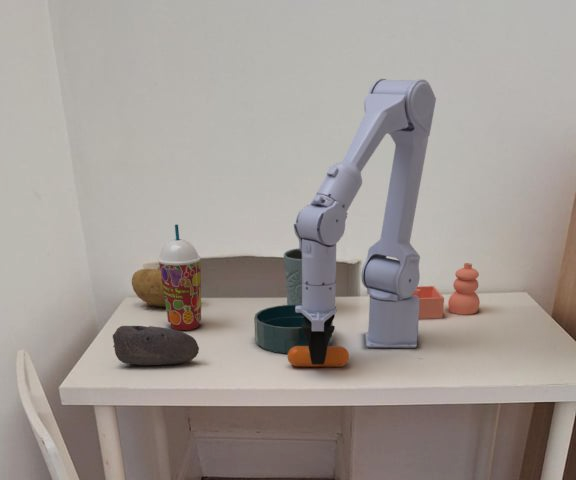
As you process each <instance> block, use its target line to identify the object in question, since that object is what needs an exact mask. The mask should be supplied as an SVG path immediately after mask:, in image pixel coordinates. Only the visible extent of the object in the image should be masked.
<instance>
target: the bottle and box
mask: <svg viewBox="0 0 576 480" xmlns="http://www.w3.org/2000/svg"><path fill="white" fill-rule="evenodd" d="M479 273H480V272H479V271H478V270H477V269H475V268H473V263H471V262H465V263H463V267H462V268H459V269H457V270H456V271H455V274H454V276H455V277H456V278H455V280H454V281H453V285H452V287H453V289H454V290H455V291H454V292H453V293H452V294H451V295H450V296H449V298H448V303H447V304H448V311H449V312H450V313H453V314H455V315H473V314H476V313H477V312H478V310H479V307H480V303H481V302H480V301H481V300H480V298H479V296H478V294H477V293H476V291H478V289H479V281H478V277H479V276H480V274H479ZM412 295H413V296H418V297H419V320H429V319H443V314H444V304H445V297H444V296H443V295H442V293H441V292H440V291H439V290H438V289H437V288H436V287H435V285H425V286H423V285H421V286H419V285H418V286H417V288H416V290H415V292H414V293H413V294H412Z"/></svg>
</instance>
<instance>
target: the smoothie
mask: <svg viewBox="0 0 576 480" xmlns="http://www.w3.org/2000/svg"><path fill="white" fill-rule="evenodd" d="M174 228H175V229H174V232H175V239H172V240H170V241H168V242H167V243H166V244H164V246H163V247H162V249H161V251H160V254H159V257H158V258H157V261H158V267H159V269H160V274H161V280H162V286H163V292H164V299H165V305H166V307H165V311H166V317H167V322H168V323H169V324H170V327H171V329H174V330H178V331H191V330H194V329H196V328H198V327H199V326H200V322H201V320H202V281H201V280H202V277H201V271H202V269H201V259H202V257H201V256H200V255H199V253H198V252H197V249H196V248H195V247H194V245H193V244H191V243H190V242H189V241H187V240H185V239H181V238H180V231H179V224H174Z"/></svg>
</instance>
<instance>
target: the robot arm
mask: <svg viewBox="0 0 576 480" xmlns="http://www.w3.org/2000/svg"><path fill="white" fill-rule="evenodd" d="M436 101H437V97H436V96H435V93H434V91H433V88H432V86H431V84H430V83H429V82H428V81H427V80H425V79H423V78H421V79H417V80H416V79H387V78H379V79H376V80H375V81H374V82H373V83H372V85H371V86H370V88H369V91H368V94H367V95H366V96H365V97H364V100H363V108H364V115H363V117H362V119H361V121H360V123H359V125H358V128H357V129H356V132H355V133H354V136H353V138H352V140H351V142H350V144H349V146H348V149H347V151H346V153H345V155H344V157H343V159H342V160H341V161H340V162H339V161H338V162H336V163H335V162H334V163H333V164H332V165H331V166H330V167H328V169H327V171H326V176H325V177H324V179H323V181H322V183H321V185H320V187H319V188H318V190H317V191H316V193H315V195H314V197H313V198H312V200H311V202H310V204H306V206H304V207H302V208H301V209H300V211H298V213H297V216H296V219H295V223H294V224H293V231H294V234H295V236H296V237H297V239H298V245H299V246H298V248H299V249H301V251H302V305H301V306H296V307H295V312H297V313H302V314H303V318H304V320H305V322H306V324H302V332H303V334H304V335H305V337H306V340H307V343H308V347H309V352H310V358H311V362H312V364H317V365H323V364H324V362H325V358H326V352H327V347H328V346H329V345H328V343H329V340H330V338H331V336H332V337H333V334H334V332H335V329H336V326H335V325H333V326H331V323H332V321H333V322H334V318H335V316H336V313H337V306H336V293H337V292H336V289H337V285H336V283H337V282H336V281H337V243H339V241H340V240H341V238H343V236H344V233H345V230H346V220H347V218H348V210H349V209H350V207H351V205H352V203H353V202H354V199H355V198H356V196H357V195H358V192H359V191H360V190H361V187H362V185H363V178H362V171H363V170H364V168H365V166H366V165H367V163H368V162H369V161H370V159H371V157H372V156H373V154H374V153H375V151H376V150H377V149H378V147H379V146H380V144H381V143H382V141H383V139H384V138H385V137H386V135H390V137H391V139H392V141H393V142H394V154H393V159H392V166H391V172H390V178H389V184H388V188H387V189H388V190H387V197H386V202H385V208H384V215H383V221H382V226H381V234H380V238H379V240H377V241H376V242H375V243H374V244H372V245H371V246H370V247H369V248H368V250H367V256H366V258H365V261H364V264H363V266H362V268H361V273H360V275H361V277H360V279H361V283H362V286H363V287H364V288H366V294H367V295H369V307H368V308H369V309H368V328H367V331H366V332H365V333H364V336H365V344H366V347H367V348H405V349H406V348H407V349H408V348H409V349H410V348H411V349H412V348H414V349H415V348H417V347H418V344H417V343H418V335H419V320H420V319H419V297H418V296H413V295H412V294H413V293H414V292H415V290H416V288H417V287H419V283H420V278H421V277H420V259H421V256H420V253H418V252H417V250H416V249H415V248H414V247H413V245H412V244H411V239H412V232H413V226H414V220H415V215H416V210H417V205H418V199H419V192H420V187H421V182H422V177H423V171H424V164H425V159H426V153H427V148H428V143H429V137H430V135H431V130H432V123H433V118H434V114H435V113H434V112H435V107H436Z"/></svg>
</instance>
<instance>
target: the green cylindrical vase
mask: <svg viewBox="0 0 576 480" xmlns="http://www.w3.org/2000/svg"><path fill="white" fill-rule="evenodd" d="M283 265H284V273H285V283H286V284H285V285H286V286H285V287H286V305H302V251H301V249H299V247H298V248H292V249H288V250H286V251H285V252H284V253H283Z"/></svg>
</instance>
